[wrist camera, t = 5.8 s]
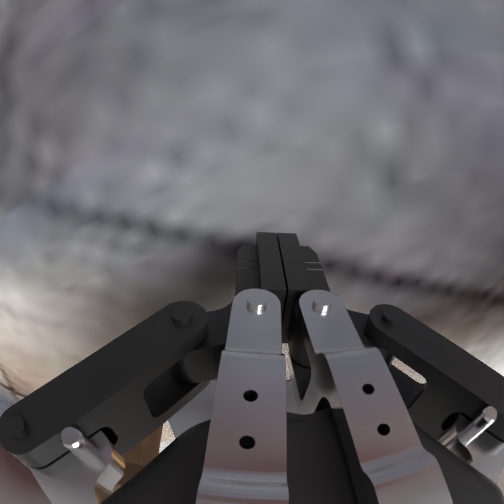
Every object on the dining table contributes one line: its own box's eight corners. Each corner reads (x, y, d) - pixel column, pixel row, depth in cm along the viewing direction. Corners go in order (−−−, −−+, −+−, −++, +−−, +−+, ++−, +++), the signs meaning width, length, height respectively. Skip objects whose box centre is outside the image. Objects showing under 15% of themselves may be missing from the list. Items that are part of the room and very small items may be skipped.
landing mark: (153, 374, 19) (152, 376, 18) (352, 376, 19) (353, 378, 19) (180, 445, 26) (180, 447, 26) (312, 446, 26) (312, 448, 26)
